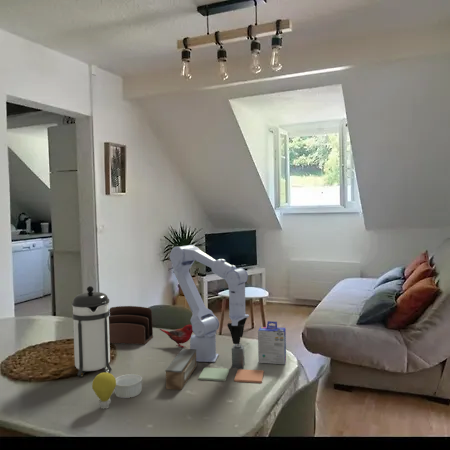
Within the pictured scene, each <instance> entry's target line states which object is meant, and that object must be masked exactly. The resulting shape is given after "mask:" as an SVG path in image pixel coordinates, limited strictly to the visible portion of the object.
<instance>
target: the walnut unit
mask: <svg viewBox="0 0 450 450" xmlns="http://www.w3.org/2000/svg"><path fill="white" fill-rule="evenodd" d="M196 368H197V361H196V349H190V348H182V349H181V350H180V351H179V352H178V353H177V355H176V356H175V357H174V359H173V360H172V361H171V363H169V365H168V366H167V367H166V369H165V370H164V372H165V388H166V390H175V391H176V390H177V391H179V390H180V391H182V390H183V388H184V387H185V385H186V383H187V382H188V380H189V378H190V377H191V375H192V374H193V372H194V371H195V369H196Z"/></svg>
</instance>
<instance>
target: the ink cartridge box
mask: <svg viewBox="0 0 450 450" xmlns="http://www.w3.org/2000/svg"><path fill="white" fill-rule="evenodd" d="M270 324H274V325H270ZM286 331H287V330H286V327H279V326H278V321H269V320H267V322H266V326H259V328H258V331H257V339H258V340H257V341H258V342H257V345H258V346H257V348H258V350H257V351H258V356H257V357H258V364H269V365H270V364H271V365H285V364H286V361H287V336H286V335H287V332H286Z"/></svg>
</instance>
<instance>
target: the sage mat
mask: <svg viewBox="0 0 450 450" xmlns="http://www.w3.org/2000/svg"><path fill="white" fill-rule="evenodd" d="M229 372H230V368H223V367H221V368H219V367H203V369H202V371H201V372H200V374H199V376H198V377H197V378H198V380H202V381H203V380H204V381H221V382H222V381H223V382H225V381H226V380H227V378H228V375H229Z"/></svg>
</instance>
